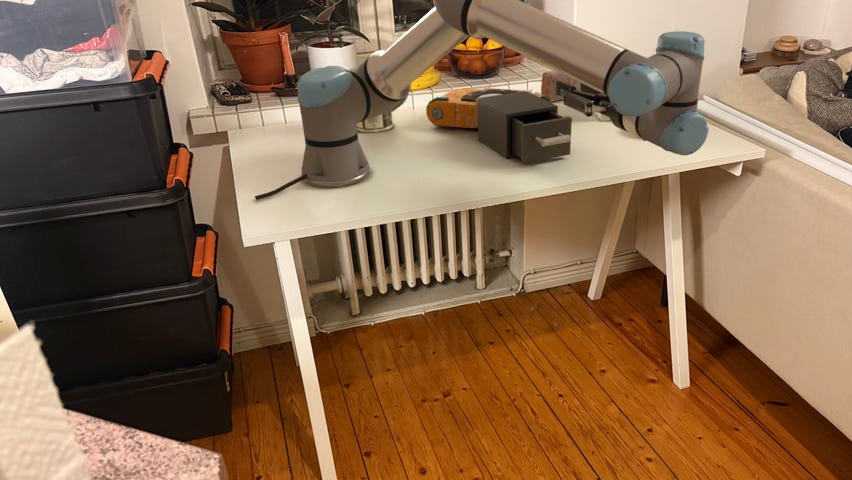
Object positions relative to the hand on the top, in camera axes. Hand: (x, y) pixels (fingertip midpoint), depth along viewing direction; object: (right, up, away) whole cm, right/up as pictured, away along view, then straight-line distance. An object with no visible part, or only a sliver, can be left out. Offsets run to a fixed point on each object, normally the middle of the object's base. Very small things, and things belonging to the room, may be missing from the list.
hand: (570, 85), depth 147 cm
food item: (+7, +13, +65) cm, 67 cm away
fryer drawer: (-6, -11, +20) cm, 24 cm away
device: (-16, +2, +46) cm, 49 cm away
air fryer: (-10, -7, +29) cm, 31 cm away
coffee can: (-48, 0, +44) cm, 65 cm away
